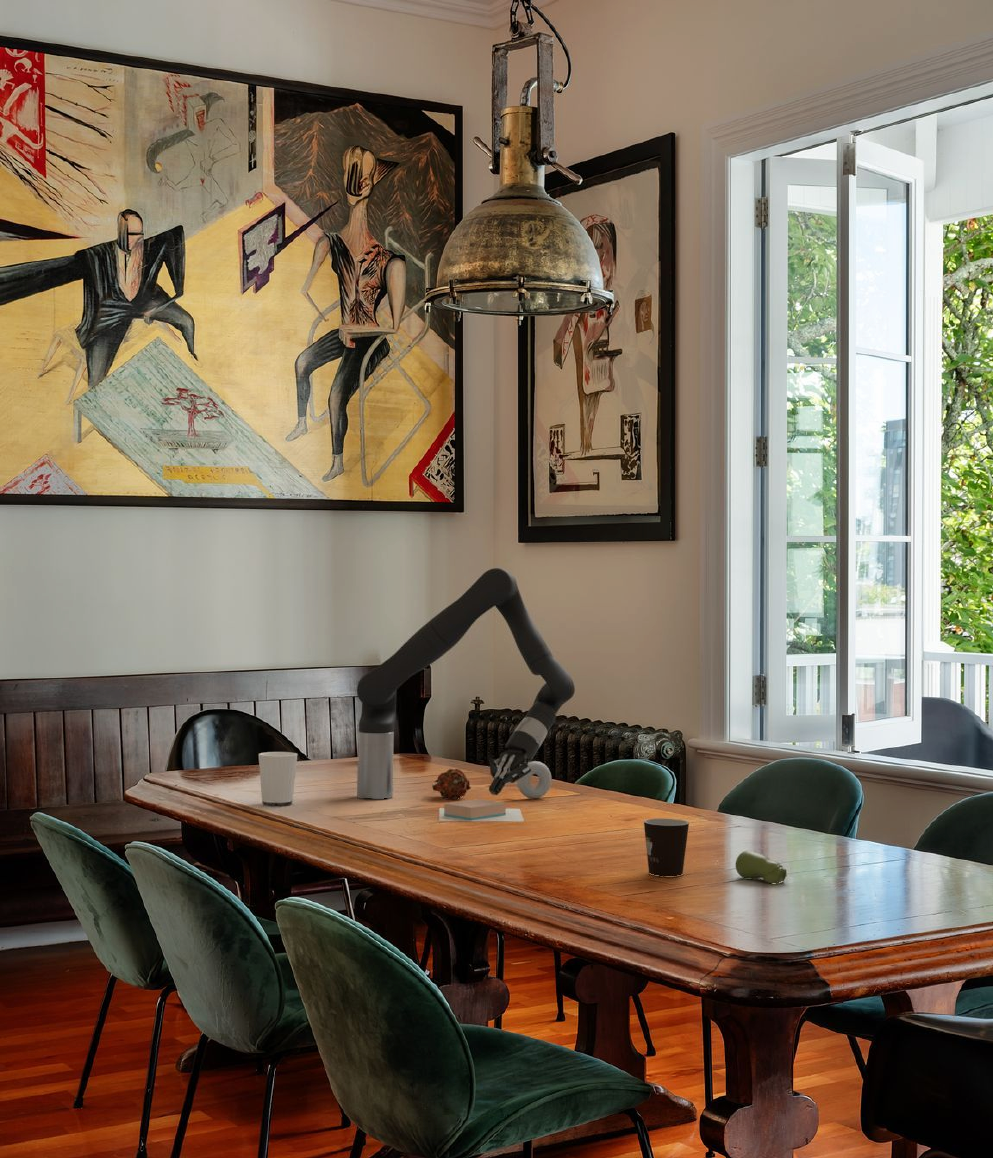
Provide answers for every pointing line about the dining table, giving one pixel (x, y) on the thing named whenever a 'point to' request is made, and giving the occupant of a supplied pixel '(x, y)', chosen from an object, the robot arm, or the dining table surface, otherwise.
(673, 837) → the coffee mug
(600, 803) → the dining table surface
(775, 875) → the pear
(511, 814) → the felt mat
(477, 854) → the dining table surface
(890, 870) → the dining table surface
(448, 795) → the brown textured round lump
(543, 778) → the donut
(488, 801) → the teal rectangular block
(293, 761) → the cup
